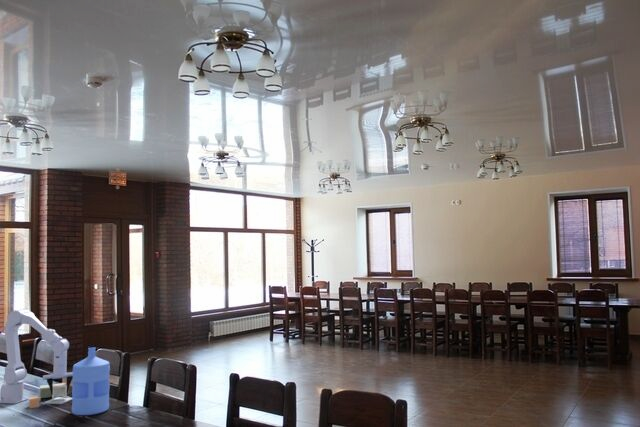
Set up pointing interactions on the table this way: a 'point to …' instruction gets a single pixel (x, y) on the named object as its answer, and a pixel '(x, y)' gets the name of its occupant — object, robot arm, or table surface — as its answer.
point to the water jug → (90, 385)
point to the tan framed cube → (59, 390)
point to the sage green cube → (45, 392)
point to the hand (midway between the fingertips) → (59, 393)
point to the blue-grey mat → (58, 400)
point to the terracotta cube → (34, 402)
